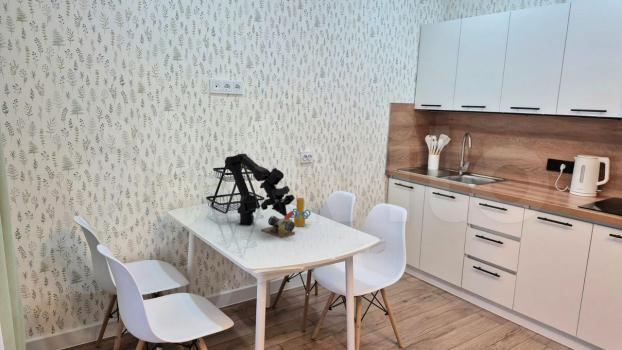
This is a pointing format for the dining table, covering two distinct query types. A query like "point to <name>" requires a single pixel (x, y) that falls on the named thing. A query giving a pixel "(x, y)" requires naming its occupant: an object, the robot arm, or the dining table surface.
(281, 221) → the lever
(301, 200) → the orange post with rings
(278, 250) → the dining table surface
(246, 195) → the robot arm
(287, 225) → the valve
